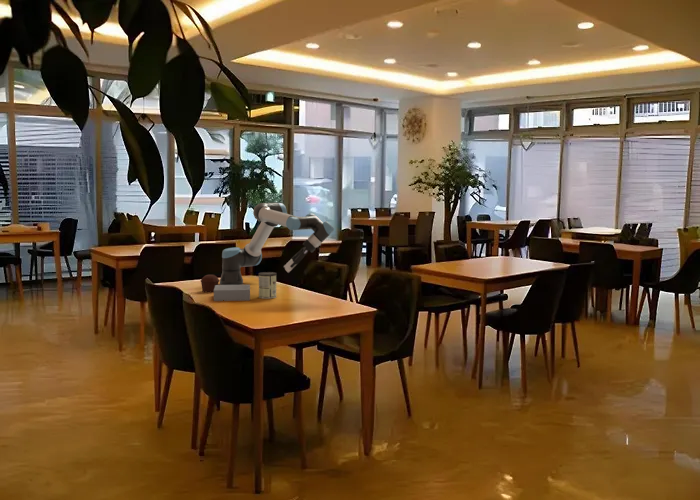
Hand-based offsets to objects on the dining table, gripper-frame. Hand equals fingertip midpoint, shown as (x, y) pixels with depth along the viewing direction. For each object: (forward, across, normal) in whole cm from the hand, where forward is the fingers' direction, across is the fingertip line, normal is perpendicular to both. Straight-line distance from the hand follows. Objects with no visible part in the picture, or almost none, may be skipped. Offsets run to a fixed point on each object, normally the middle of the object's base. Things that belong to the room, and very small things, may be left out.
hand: (285, 269), depth 385 cm
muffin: (+43, +25, +20) cm, 54 cm away
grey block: (+33, 0, +10) cm, 34 cm away
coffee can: (+19, 0, -4) cm, 19 cm away
